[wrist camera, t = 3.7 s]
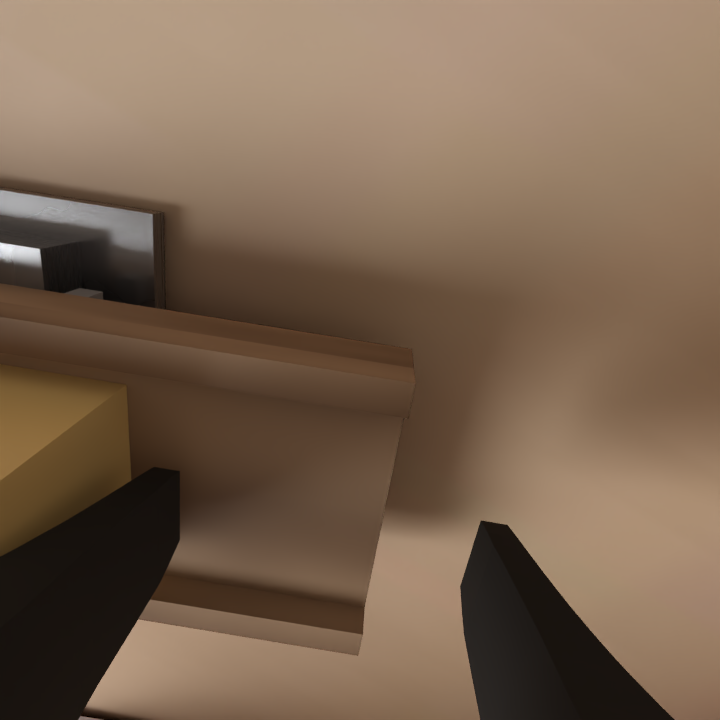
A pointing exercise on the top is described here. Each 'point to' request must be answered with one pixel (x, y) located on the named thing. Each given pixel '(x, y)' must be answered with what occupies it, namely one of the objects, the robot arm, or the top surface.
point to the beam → (242, 453)
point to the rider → (57, 449)
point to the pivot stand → (82, 247)
